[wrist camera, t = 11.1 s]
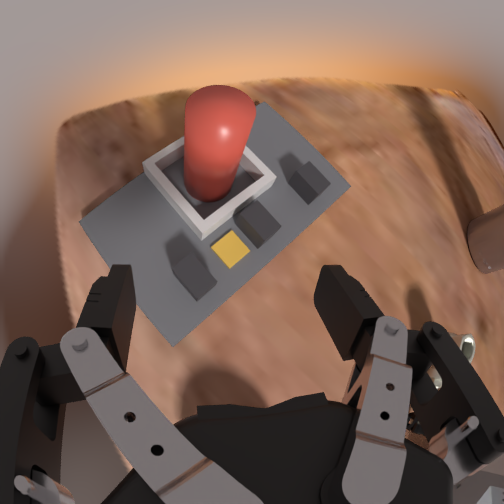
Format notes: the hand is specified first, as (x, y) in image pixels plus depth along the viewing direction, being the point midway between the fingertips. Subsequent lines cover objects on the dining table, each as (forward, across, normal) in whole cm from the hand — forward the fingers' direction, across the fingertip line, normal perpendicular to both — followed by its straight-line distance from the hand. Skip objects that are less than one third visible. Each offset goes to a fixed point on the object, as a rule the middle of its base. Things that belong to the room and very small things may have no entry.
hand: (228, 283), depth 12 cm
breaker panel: (+17, -2, +3) cm, 17 cm away
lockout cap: (+17, 0, 0) cm, 17 cm away
